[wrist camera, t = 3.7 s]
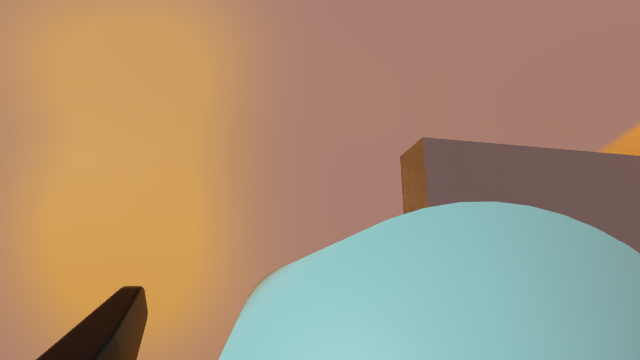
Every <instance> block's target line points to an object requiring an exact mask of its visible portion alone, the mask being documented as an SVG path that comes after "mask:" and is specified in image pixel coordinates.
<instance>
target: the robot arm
mask: <svg viewBox="0 0 640 360" xmlns="http://www.w3.org/2000/svg"><path fill="white" fill-rule="evenodd" d="M147 315H148V311H147V303H146V297H145V291H144V288H143V287H141V286H124V287H122V288H120V289H119V290H118V291H117V292H116V293H114V294H113V295H112V296H111V297H110V298H109V299H107V300H106V301H105V302H104V303H103V304H102V305H100V306H99V307H98V308H97V309H95V310H94V311H93V312H92V313H91V314H90V315H88V316H87V317H86V318H85V319H84V320H82V321H81V322H80V323H79V324H78V325H77V326H76V327H74V328H73V329H72V330H71V331H69V332H68V333H67V334H66V335H65V336H63V337H62V338H61V339H60V340H59V341H58V342H56V343H55V344H54V345H53V346H52V347H51V348H49V349H48V350H47V351H46V352H45V353H43V354H42V355H41V356H40V357H39V358H38V359H36V360H136V359H137V355H138V351H139V347H140V344H141V340H142V337H143V333H144V329H145V325H146V321H147Z"/></svg>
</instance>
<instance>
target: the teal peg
mask: <svg viewBox="0 0 640 360" xmlns="http://www.w3.org/2000/svg"><path fill="white" fill-rule="evenodd" d="M219 360H640V253H638V252H637V251H636V250H634V249H633V248H631V247H630V246H628V245H626V244H625V243H623V242H621V241H619V240H617V239H616V238H614V237H612V236H610V235H608V234H606V233H605V232H603V231H601V230H599V229H597V228H595V227H593V226H590V225H588V224H585V223H583V222H580V221H578V220H575V219H573V218H570V217H568V216H566V215H563V214H559V213H555V212H551V211H547V210H544V209H540V208H536V207H532V206H527V205H519V204H511V203H503V202H458V203H452V204H446V205H439V206H433V207H427V208H422V209H419V210H416V211H413V212H410V213H407V214H404V215H400V216H397V217H394V218H391V219H388V220H386V221H383V222H381V223H379V224H377V225H375V226H372V227H370V228H368V229H366V230H363V231H361V232H359V233H357V234H355V235H352V236H350V237H348V238H346V239H344V240H341V241H339V242H337V243H335V244H333V245H331V246H328V247H326V248H324V249H322V250H320V251H317V252H315V253H313V254H310V255H308V256H306V257H304V258H302V259H300V260H297V261H295V262H293V263H291V264H289V265H286V266H284V267H282V268H280V269H277V270H276V271H274V272H272V273H270V274H269V275H267V276H266V277H265V278H263V279H262V280H261V281H260V282H259V283H258V284H257V286H256V287H255V288H254V290H253V291H252V292H251V293H250V295H249V297H248V299H247V301H246V303H245V305H244V307H243V309H242V311H241V313H240V316H239V318H238V320H237V322H236V324H235V326H234V328H233V330H232V332H231V335H230V336H229V339H228V341H227V343H226V345H225V347H224V349H223V351H222V353H221V355H220V357H219Z"/></svg>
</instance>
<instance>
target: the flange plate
mask: <svg viewBox="0 0 640 360" xmlns="http://www.w3.org/2000/svg"><path fill="white" fill-rule="evenodd" d="M400 160H401V177H402V193H403V208H404V214H407V213H410V212H413V211H416V210H419V209H422V208H427V207H433V206H439V205H446V204H452V203H458V202H503V203H511V204H519V205H527V206H532V207H536V208H540V209H544V210H547V211H551V212H555V213H559V214H563V215H566V216H568V217H570V218H573V219H575V220H578V221H580V222H583V223H585V224H588V225H590V226H593V227H595V228H597V229H599V230H601V231H603V232H605V233H606V234H608V235H610V236H612V237H614V238H616V239H617V240H619V241H621V242H623V243H625V244H626V245H628V246H630V247H631V248H633V249H634V250H636V251H637V252H638V253H640V156H633V155H621V154H610V153H598V152H587V151H575V150H563V149H552V148H540V147H528V146H517V145H505V144H493V143H482V142H470V141H458V140H447V139H435V138H424V137H423V138H421V139H420V140H419V141H418V142H417V143H416V144H414V145H413V146H412V147H411V148H410V149H409V150H407V151H406V152H405V153H404V154H403V155H401V157H400Z"/></svg>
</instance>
